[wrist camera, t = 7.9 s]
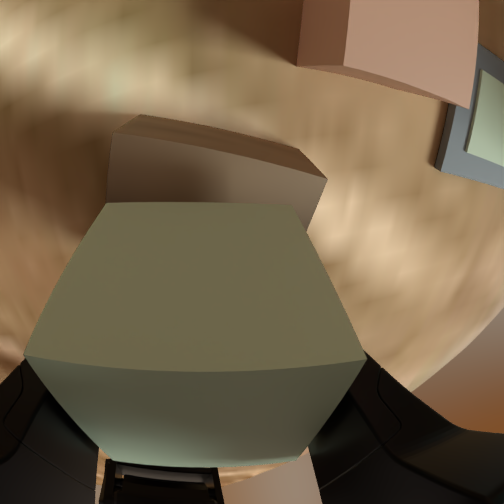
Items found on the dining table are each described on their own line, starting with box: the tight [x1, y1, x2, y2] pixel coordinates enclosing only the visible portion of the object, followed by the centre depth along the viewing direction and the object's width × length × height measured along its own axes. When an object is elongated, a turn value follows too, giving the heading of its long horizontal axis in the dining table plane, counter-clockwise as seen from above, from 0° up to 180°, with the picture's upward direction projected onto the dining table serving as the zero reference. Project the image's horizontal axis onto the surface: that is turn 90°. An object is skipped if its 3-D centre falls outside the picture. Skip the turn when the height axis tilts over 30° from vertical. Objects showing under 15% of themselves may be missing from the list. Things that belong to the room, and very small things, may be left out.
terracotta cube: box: [296, 0, 479, 109], centre depth 7 cm, size 5×5×5 cm
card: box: [434, 43, 504, 189], centre depth 12 cm, size 8×8×1 cm
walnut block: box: [106, 115, 328, 231], centre depth 12 cm, size 7×7×4 cm
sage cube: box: [23, 202, 367, 467], centre depth 7 cm, size 5×5×5 cm
